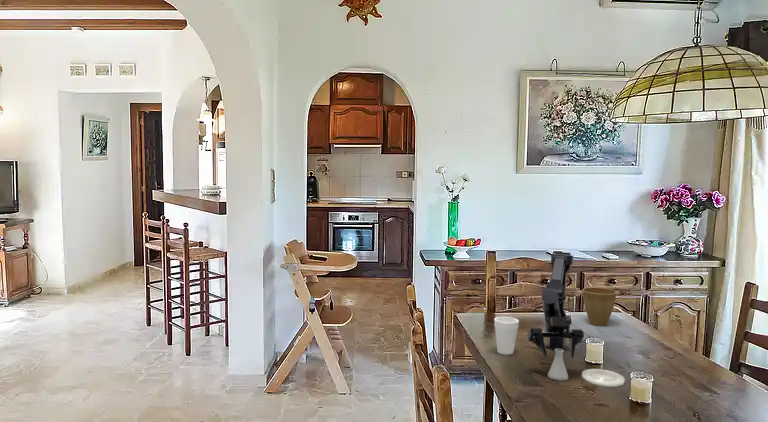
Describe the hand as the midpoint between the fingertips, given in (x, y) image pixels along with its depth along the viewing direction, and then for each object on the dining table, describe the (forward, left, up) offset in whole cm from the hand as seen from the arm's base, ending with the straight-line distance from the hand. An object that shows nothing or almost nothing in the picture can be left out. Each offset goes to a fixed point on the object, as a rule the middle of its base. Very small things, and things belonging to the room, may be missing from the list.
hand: (559, 357), depth 199 cm
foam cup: (-10, -27, -8) cm, 30 cm away
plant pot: (-77, -17, -8) cm, 80 cm away
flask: (0, 0, -8) cm, 8 cm away
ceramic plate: (-10, +12, -7) cm, 17 cm away
